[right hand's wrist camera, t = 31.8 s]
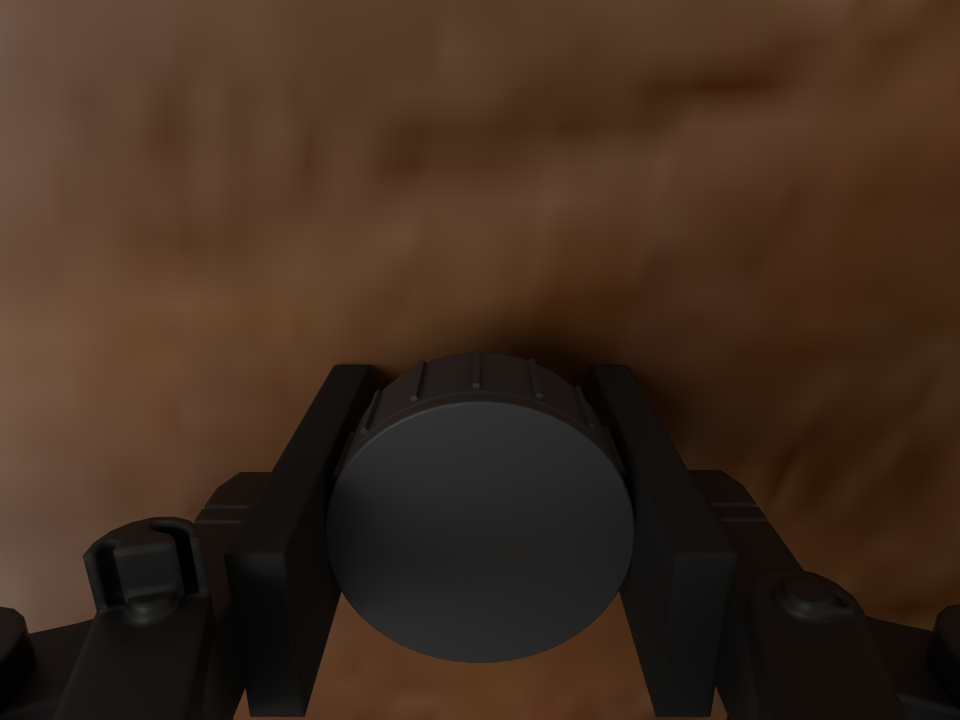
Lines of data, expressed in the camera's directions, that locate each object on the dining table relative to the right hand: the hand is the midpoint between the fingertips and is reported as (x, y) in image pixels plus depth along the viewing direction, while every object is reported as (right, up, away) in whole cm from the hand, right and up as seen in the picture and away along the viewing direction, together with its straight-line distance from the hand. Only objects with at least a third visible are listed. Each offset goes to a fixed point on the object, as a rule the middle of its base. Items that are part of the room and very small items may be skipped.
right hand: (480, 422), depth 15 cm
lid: (0, -1, -4) cm, 4 cm away
